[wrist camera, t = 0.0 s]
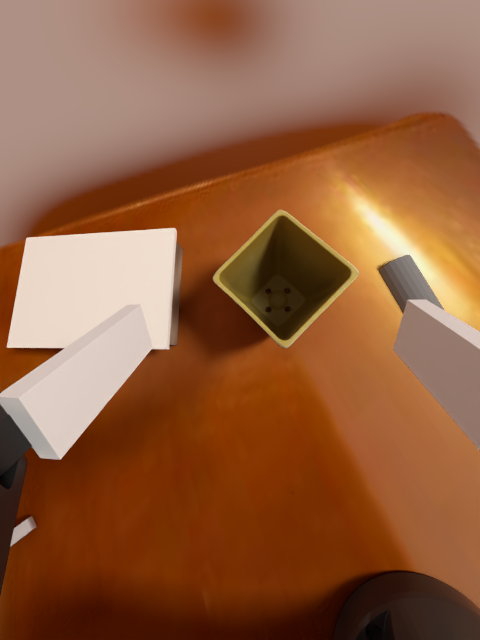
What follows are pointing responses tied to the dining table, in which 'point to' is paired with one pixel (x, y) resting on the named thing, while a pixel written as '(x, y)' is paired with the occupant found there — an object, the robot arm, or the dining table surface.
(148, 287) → the display ledge
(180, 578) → the dining table surface
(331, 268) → the flower pot
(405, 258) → the gray half cylinder
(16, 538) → the decorative sign
